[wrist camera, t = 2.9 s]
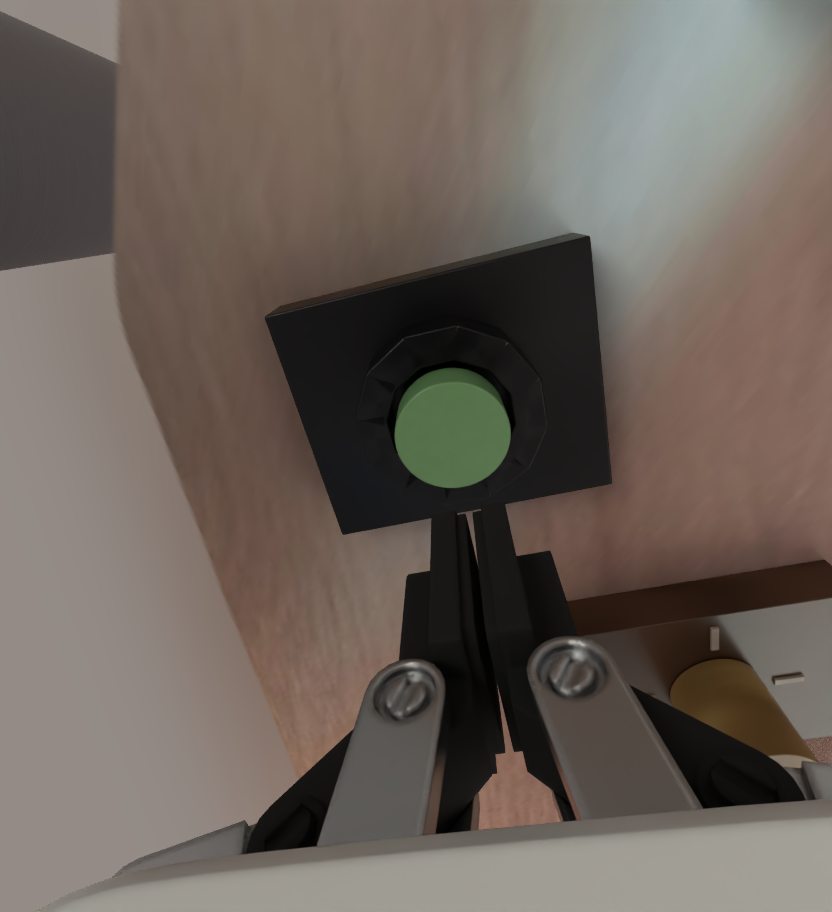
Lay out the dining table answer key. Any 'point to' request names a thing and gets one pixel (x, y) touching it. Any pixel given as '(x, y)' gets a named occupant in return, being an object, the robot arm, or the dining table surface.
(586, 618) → the dimmer panel
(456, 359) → the switch box
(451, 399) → the power button
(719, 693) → the dimmer knob
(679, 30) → the dining table surface
